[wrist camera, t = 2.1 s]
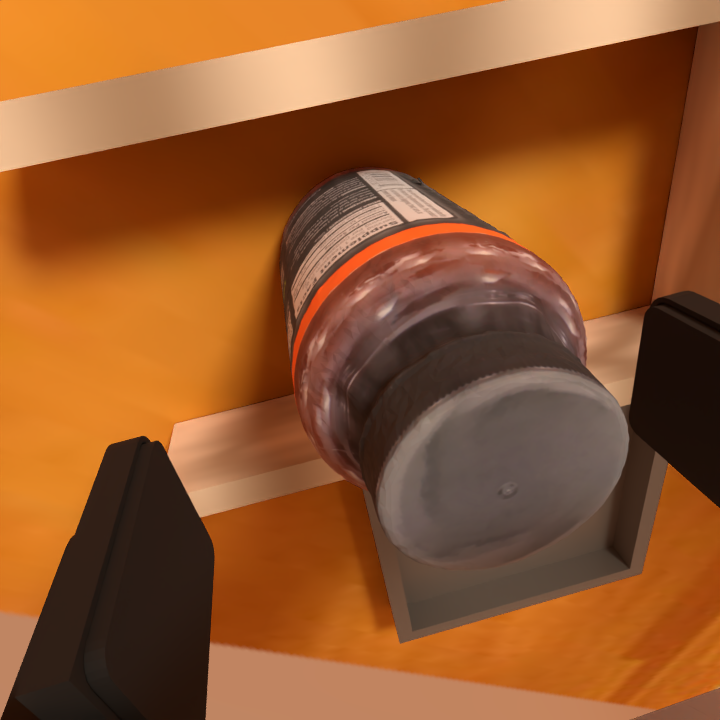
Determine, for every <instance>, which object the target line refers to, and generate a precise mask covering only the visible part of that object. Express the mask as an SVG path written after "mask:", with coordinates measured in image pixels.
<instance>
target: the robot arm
mask: <svg viewBox="0 0 720 720" xmlns="http://www.w3.org/2000/svg"><path fill="white" fill-rule="evenodd" d="M629 422H630V425H631V428H632V429H633V431H634V432H635V433H636V434H637V435H638V436H639V437H640V438H641V439H642V440H643V441H645V442H646V443H647V444H648V445H649V446H650V447H651V448H652V449H654V450H655V451H656V452H657V453H658V454H659V455H660V456H661V457H663V458H664V459H665V460H666V461H667V462H668V463H669V464H671V465H672V466H673V467H674V468H675V469H676V470H677V471H678V472H680V473H681V474H682V475H683V476H684V477H685V478H686V479H687V480H689V481H690V482H691V483H692V484H693V485H694V486H695V487H697V488H698V489H699V490H700V491H701V492H702V493H703V494H704V495H706V496H707V497H708V498H709V499H710V500H711V501H712V502H714V503H715V504H716V505H717V506H718V507H719V508H720V304H719V303H717V302H715V301H713V300H711V299H708V298H706V297H704V296H702V295H700V294H697V293H695V292H692V291H689V290H688V291H682V292H678V293H674V294H670V295H667V296H663V297H659V298H657V299H655V300H654V301H653V302H652V304H651V306H650V308H649V309H647V311H646V312H645V315H644V320H643V326H642V333H641V339H640V346H639V352H638V359H637V365H636V372H635V378H634V385H633V391H632V398H631V404H630V411H629ZM213 576H214V548H213V544H212V541H211V538H210V536H209V534H208V532H207V530H206V528H205V526H204V524H203V522H202V521H201V519H200V517H199V515H198V513H197V511H196V509H195V507H194V505H193V503H192V501H191V499H190V497H189V495H188V493H187V492H186V490H185V488H184V486H183V484H182V482H181V480H180V478H179V476H178V474H177V472H176V470H175V468H174V466H173V464H172V462H171V461H170V459H169V457H168V455H167V453H166V451H165V449H164V447H163V445H162V444H161V443H160V442H159V441H154V442H150V440H149V439H148V438H147V437H145V436H140V437H137V438H133V439H129V440H125V441H122V442H118V443H114V444H111V445H109V446H108V448H107V449H106V452H105V454H104V457H103V460H102V463H101V465H100V468H99V471H98V473H97V476H96V479H95V481H94V484H93V487H92V490H91V492H90V495H89V498H88V500H87V503H86V506H85V508H84V511H83V514H82V517H81V519H80V522H79V525H78V527H77V530H76V533H75V535H74V536H73V537H72V538H71V539H70V541H69V542H68V544H67V546H66V548H65V551H64V554H63V556H62V559H61V562H60V564H59V567H58V569H57V572H56V575H55V577H54V580H53V583H52V585H51V588H50V591H49V593H48V596H47V599H46V601H45V604H44V606H43V609H42V612H41V614H40V617H39V620H38V622H37V625H36V628H35V630H34V633H33V635H32V638H31V641H30V643H29V646H28V649H27V652H26V654H25V657H24V659H23V662H22V665H21V667H20V670H19V672H18V675H17V678H16V680H15V683H14V686H13V688H12V691H11V693H10V696H9V699H8V701H7V704H6V707H5V709H4V712H3V715H2V717H1V720H205V717H206V700H207V699H206V698H207V682H208V664H209V647H210V629H211V611H212V594H213ZM631 720H720V688H719V689H716V690H713V691H710V692H707V693H704V694H702V695H699V696H696V697H693V698H690V699H687V700H685V701H682V702H679V703H676V704H673V705H671V706H668V707H665V708H662V709H659V710H657V711H654V712H651V713H648V714H645V715H643V716H640V717H637V718H634V719H631Z"/></svg>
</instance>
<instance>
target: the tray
mask: <svg viewBox="0 0 720 720" xmlns="http://www.w3.org/2000/svg"><path fill="white" fill-rule="evenodd" d="M621 409H622V411H623V413H624V416H625V419H626V422H627V425H628V434H629V443H628V453H627V458H626V462H625V465H624V467H623V469H622V473H621V476H620V478H619V480H618V482H617V484H616V485H615V487H614V489H613V490H612V492H611V493H610V495H609V496H608V498H607V500H606V501H605V503H604V504H603V505H602V506H601V507H600V508H599V509H598V510H597V511H596V512H595V513H594V514H593V515H592V516H591V517H590V518H589V519H588V520H587V521H586V522H584V523H583V524H582V525H581V526H580V527H579V528H577V529H576V530H575V531H574V532H572V533H571V534H570V535H568V536H567V537H565V538H564V539H562V540H560V541H559V542H557V543H556V544H554V545H552V546H550V547H548V548H546V549H544V550H542V551H540V552H538V553H536V554H534V555H531V556H529V557H527V558H526V559H523V560H521V561H518V562H515V563H511V564H507V565H504V566H501V567H497V568H489V569H483V570H445V569H442V568H434V567H431V566H429V565H425V564H421V563H418V562H416V561H414V560H412V559H411V558H409V557H407V556H406V555H404V554H403V553H402V552H401V551H399V550H398V549H397V548H396V547H395V546H394V545H393V544H392V543H390V541H389V540H388V538H387V537H386V535H385V533H384V531H383V529H382V527H381V525H380V523H379V520H378V517H377V514H376V511H375V508H374V504H373V500H372V497H371V494H370V492H369V491H366V490H364V489H362V490H363V494H364V498H365V503H366V507H367V511H368V515H369V519H370V523H371V527H372V532H373V536H374V540H375V544H376V548H377V552H378V556H379V560H380V565H381V569H382V573H383V577H384V581H385V585H386V589H387V594H388V598H389V602H390V606H391V610H392V614H393V618H394V622H395V626H396V630H397V634H398V638H399V642H400V643H404V642H407V641H411V640H414V639H418V638H421V637H424V636H428V635H431V634H435V633H438V632H442V631H445V630H449V629H452V628H456V627H459V626H462V625H466V624H469V623H473V622H476V621H480V620H483V619H487V618H490V617H494V616H497V615H500V614H504V613H507V612H511V611H514V610H518V609H521V608H525V607H528V606H531V605H535V604H538V603H542V602H545V601H549V600H552V599H556V598H559V597H563V596H566V595H569V594H573V593H576V592H580V591H583V590H587V589H590V588H594V587H597V586H601V585H604V584H607V583H611V582H614V581H618V580H621V579H625V578H628V577H632V576H635V575H638V574H642V570H643V566H644V561H645V557H646V553H647V549H648V545H649V541H650V536H651V532H652V528H653V524H654V520H655V515H656V511H657V507H658V503H659V499H660V495H661V490H662V486H663V482H664V478H665V474H666V470H667V465H668V462H667V461H666V460H665V459H664V458H663V457H661V456H660V455H659V454H658V453H657V452H656V451H655V450H654V449H652V448H651V447H650V446H649V445H648V444H647V443H646V442H645V441H643V440H642V439H641V438H640V437H639V436H638V435H637V434H636V433H635V432H634V431H633V429H632V428H631V425H630V422H629V411H630V404H629V405H625V406H621Z"/></svg>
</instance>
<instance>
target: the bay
mask: <svg viewBox="0 0 720 720" xmlns="http://www.w3.org/2000/svg"><path fill="white" fill-rule="evenodd" d="M694 26H699V27H698V33H697V39H696V44H695V50H694V56H693V62H692V68H691V74H690V80H689V85H688V91H687V97H686V103H685V109H684V115H683V120H682V126H681V132H680V138H679V144H678V150H677V155H676V161H675V167H674V173H673V179H672V185H671V191H670V196H669V202H668V208H667V214H666V220H665V226H664V231H663V237H662V243H661V249H660V255H659V261H658V266H657V272H656V278H655V284H654V290H653V296H652V301H651V304H652V302H653V301H654V300H655V299H657V298H659V297H663V296H667V295H670V294H674V293H678V292H682V291H688V290H689V291H692V292H695V293H697V294H700V295H702V296H704V297H706V298H708V299H711V300H713V301H715V302H717V303H719V304H720V0H507V1H502V2H497V3H492V4H487V5H482V6H477V7H472V8H467V9H462V10H457V11H452V12H447V13H442V14H437V15H432V16H427V17H422V18H417V19H412V20H407V21H402V22H397V23H392V24H387V25H382V26H377V27H372V28H367V29H362V30H357V31H352V32H347V33H342V34H337V35H332V36H327V37H322V38H317V39H312V40H307V41H302V42H297V43H292V44H287V45H282V46H277V47H272V48H267V49H262V50H257V51H252V52H247V53H242V54H237V55H232V56H227V57H222V58H217V59H212V60H207V61H202V62H197V63H192V64H187V65H182V66H177V67H172V68H167V69H162V70H157V71H152V72H147V73H142V74H137V75H132V76H127V77H122V78H117V79H112V80H107V81H102V82H97V83H92V84H87V85H82V86H77V87H72V88H67V89H62V90H57V91H52V92H47V93H42V94H37V95H32V96H27V97H22V98H17V99H12V100H7V101H2V102H0V172H3V171H7V170H12V169H17V168H22V167H26V166H31V165H36V164H41V163H45V162H50V161H55V160H60V159H65V158H69V157H74V156H79V155H84V154H88V153H93V152H98V151H103V150H107V149H112V148H117V147H122V146H127V145H131V144H136V143H141V142H146V141H150V140H155V139H160V138H165V137H169V136H174V135H179V134H184V133H189V132H193V131H198V130H203V129H208V128H212V127H217V126H222V125H227V124H232V123H236V122H241V121H246V120H251V119H255V118H260V117H265V116H270V115H274V114H279V113H284V112H289V111H294V110H298V109H303V108H308V107H313V106H317V105H322V104H327V103H332V102H336V101H341V100H346V99H351V98H356V97H360V96H365V95H370V94H375V93H379V92H384V91H389V90H394V89H398V88H403V87H408V86H413V85H418V84H422V83H427V82H432V81H437V80H441V79H446V78H451V77H456V76H460V75H465V74H470V73H475V72H480V71H484V70H489V69H494V68H499V67H503V66H508V65H513V64H518V63H522V62H527V61H532V60H537V59H542V58H546V57H551V56H556V55H561V54H565V53H570V52H575V51H580V50H584V49H589V48H594V47H599V46H604V45H608V44H613V43H618V42H623V41H627V40H632V39H637V38H642V37H646V36H651V35H656V34H661V33H666V32H670V31H675V30H680V29H685V28H689V27H694ZM650 306H651V305H649V306H645V307H641V308H637V309H633V310H629V311H625V312H621V313H617V314H613V315H609V316H605V317H601V318H597V319H593V320H589V321H585V322H583V323H584V327H585V330H586V337H587V343H586V345H587V361H586V368H587V369H588V370H589V371H590V372H591V373H592V374H593V375H594V376H595V377H596V378H597V379H598V380H599V381H600V382H601V383H602V384H603V385H604V387H605V388H606V389H607V390H608V391H609V392H610V393H611V394H612V395H613V396H614V397H615V398H616V400H617V401H618V403H619V405H620V407H621V406H625V405H629V404H631V398H632V391H633V385H634V378H635V372H636V365H637V359H638V352H639V346H640V339H641V333H642V326H643V320H644V315H645V312H646V311H647V309H649V308H650ZM168 457H169V459H170V461H171V462H172V464H173V466H174V468H175V470H176V472H177V474H178V476H179V478H180V480H181V482H182V484H183V486H184V488H185V490H186V492H187V493H188V495H189V497H190V499H191V501H192V503H193V505H194V507H195V509H196V511H197V513H198V515H199V517H200V518H201V517H204V516H208V515H212V514H216V513H220V512H223V511H227V510H231V509H235V508H239V507H242V506H246V505H250V504H254V503H258V502H261V501H265V500H269V499H273V498H276V497H280V496H284V495H288V494H292V493H295V492H299V491H303V490H307V489H311V488H314V487H318V486H322V485H326V484H329V483H333V482H337V481H341V480H345V479H344V478H343V477H342V476H340V475H339V474H337V473H336V472H335V471H334V470H333V469H331V468H330V467H329V465H328V464H327V463H326V462H325V461H324V460H323V459H322V458H321V457H320V455H319V454H318V453H317V451H316V450H315V448H314V446H313V445H312V443H311V441H310V440H309V438H308V436H307V434H306V432H305V430H304V428H303V425H302V422H301V418H300V415H299V412H298V409H297V405H296V401H295V395H294V394H293V395H289V396H285V397H281V398H277V399H273V400H269V401H265V402H261V403H257V404H253V405H249V406H245V407H240V408H236V409H232V410H228V411H224V412H220V413H216V414H212V415H208V416H204V417H200V418H196V419H192V420H188V421H184V422H180V423H176V424H175V425H174V429H173V433H172V438H171V442H170V446H169V450H168Z"/></svg>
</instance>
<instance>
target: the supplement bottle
mask: <svg viewBox="0 0 720 720" xmlns="http://www.w3.org/2000/svg"><path fill="white" fill-rule="evenodd" d="M417 179H418V180H417ZM417 179H415V178H413V177H411V176H409V175H408V174H405V173H402V172H399V171H395V170H391V169H388V168H379V167H362V168H356V169H349V170H345V171H342V172H340V173H337V174H335V175H333V176H330V177H328V178H327V179H325V180H324V181H322V182H321V183H319V184H318V185H316V186H315V187H314V188H313V189H312V190H310V191H309V192H308V193H307V194H306V195H305V196H304V197H303V198H302V200H301V201H300V202H299V204H298V205H297V206H296V208H295V209H294V211H293V213H292V214H291V216H290V218H289V220H288V223H287V225H286V227H285V229H284V233H283V238H282V243H281V252H280V275H281V286H282V293H283V303H284V312H285V322H286V331H287V337H288V347H289V355H290V366H291V373H292V379H293V387H294V395H295V401H296V405H297V409H298V412H299V415H300V418H301V422H302V425H303V428H304V430H305V432H306V434H307V436H308V438H309V440H310V441H311V443H312V445H313V446H314V448H315V450H316V451H317V453H318V454H319V455H320V457H321V458H322V459H323V460H324V461H325V462H326V463H327V464H328V465H329V467H330V468H331V469H333V470H334V471H335V472H336V473H337V474H339V475H340V476H342V477H343V478H344V479H345V480H347V481H348V482H350V483H352V484H354V485H356V486H358V487H360V488H362V489H364V490H366V491H369V492H370V494H371V497H372V500H373V504H374V508H375V511H376V514H377V517H378V520H379V523H380V525H381V527H382V529H383V531H384V533H385V535H386V537H387V538H388V540H389V541H390V543H392V544H393V545H394V546H395V547H396V548H397V549H398V550H399V551H401V552H402V553H403V554H404V555H406V556H407V557H409V558H411V559H412V560H414V561H416V562H418V563H421V564H425V565H429V566H431V567H434V568H442V569H445V570H483V569H489V568H497V567H501V566H504V565H507V564H511V563H515V562H518V561H521V560H523V559H526V558H527V557H529V556H531V555H534V554H536V553H538V552H540V551H542V550H544V549H546V548H548V547H550V546H552V545H554V544H556V543H557V542H559V541H560V540H562V539H564V538H565V537H567V536H568V535H570V534H571V533H572V532H574V531H575V530H576V529H577V528H579V527H580V526H581V525H582V524H583V523H584V522H586V521H587V520H588V519H589V518H590V517H591V516H592V515H593V514H594V513H595V512H596V511H597V510H598V509H599V508H600V507H601V506H602V505H603V504H604V503H605V501H606V500H607V498H608V496H609V495H610V493H611V492H612V490H613V489H614V487H615V485H616V484H617V482H618V480H619V478H620V476H621V473H622V469H623V467H624V465H625V462H626V458H627V453H628V443H629V434H628V425H627V422H626V419H625V416H624V413H623V411H622V409H621V407H620V405H619V403H618V401H617V400H616V398H615V397H614V396H613V395H612V394H611V393H610V392H609V391H608V390H607V389H606V388H605V387H604V385H603V384H602V383H601V382H600V381H599V380H598V379H597V378H596V377H595V376H594V375H593V374H592V373H591V372H590V371H589V370H588V369H587V368H586V361H587V345H586V343H587V337H586V330H585V327H584V323H583V319H582V316H581V313H580V310H579V307H578V304H577V301H576V300H575V298H574V296H573V295H572V293H571V291H570V290H569V287H568V286H567V284H566V283H565V282H564V281H563V280H562V278H561V276H560V275H559V274H558V273H557V272H556V271H555V270H554V269H553V268H552V267H551V266H550V265H548V264H547V263H546V262H545V261H543V260H542V259H540V258H539V257H538V256H537V255H535V254H534V253H533V252H531V251H529V250H528V249H526V248H525V247H523V246H521V245H519V244H518V243H517V242H515V241H514V240H513V239H511V238H510V237H509V236H508V235H507V234H506V233H504V232H502V231H498V230H497V229H496V228H495V227H493V226H491V225H490V224H488V223H486V222H484V221H482V220H480V219H479V218H478V217H476V216H475V215H473V214H472V213H470V212H468V211H467V210H466V209H463V208H462V207H460V206H458V205H457V204H455V203H454V202H452V201H450V200H449V199H447V198H446V197H444V196H442V195H441V194H439V193H438V192H436V191H435V190H434V189H432V188H430V187H429V186H427V185H426V184H424V183H423V182H422V180H421V179H420V178H417Z"/></svg>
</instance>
